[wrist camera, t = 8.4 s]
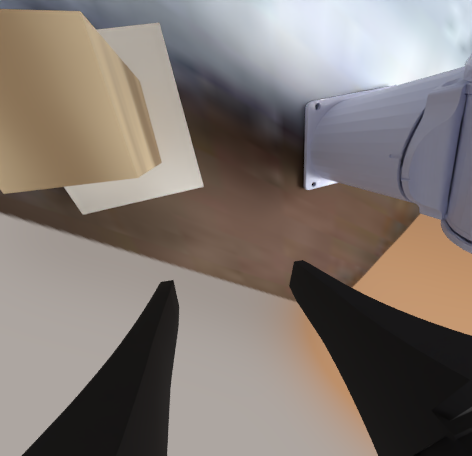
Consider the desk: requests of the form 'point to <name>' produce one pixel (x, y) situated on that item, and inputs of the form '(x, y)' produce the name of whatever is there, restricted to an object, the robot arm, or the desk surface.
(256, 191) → the desk surface
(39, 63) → the oak block
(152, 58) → the base
